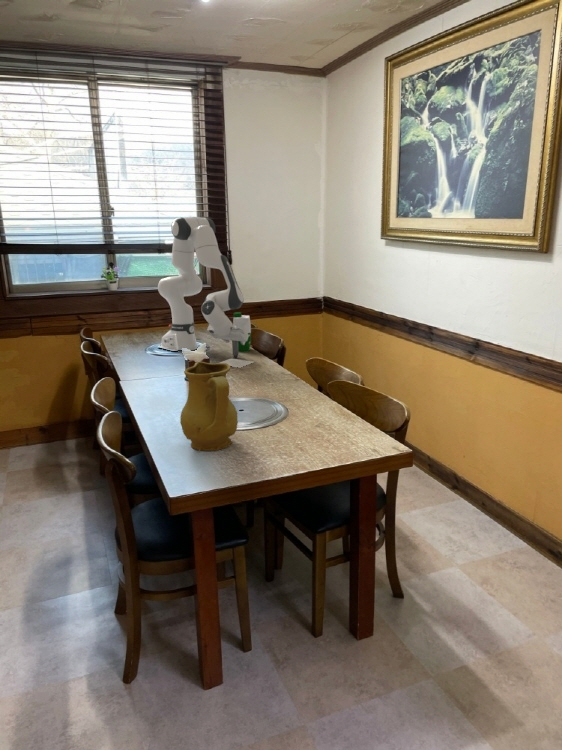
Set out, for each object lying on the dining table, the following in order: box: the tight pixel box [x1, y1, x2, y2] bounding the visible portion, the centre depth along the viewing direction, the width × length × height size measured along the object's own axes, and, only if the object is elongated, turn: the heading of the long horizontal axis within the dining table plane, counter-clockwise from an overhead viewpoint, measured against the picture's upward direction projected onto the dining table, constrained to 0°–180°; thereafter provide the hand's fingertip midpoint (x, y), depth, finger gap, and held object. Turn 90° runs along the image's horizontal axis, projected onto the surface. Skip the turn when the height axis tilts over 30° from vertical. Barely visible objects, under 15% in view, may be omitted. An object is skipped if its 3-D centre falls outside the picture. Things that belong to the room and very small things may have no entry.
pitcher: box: [179, 361, 238, 452], centre depth 158 cm, size 17×19×25 cm
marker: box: [231, 340, 239, 359], centre depth 265 cm, size 3×3×14 cm
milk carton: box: [232, 311, 252, 352], centre depth 280 cm, size 9×9×20 cm
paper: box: [219, 358, 255, 369], centre depth 255 cm, size 14×12×1 cm
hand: (235, 342), depth 266 cm, fingers open, 8 cm apart
